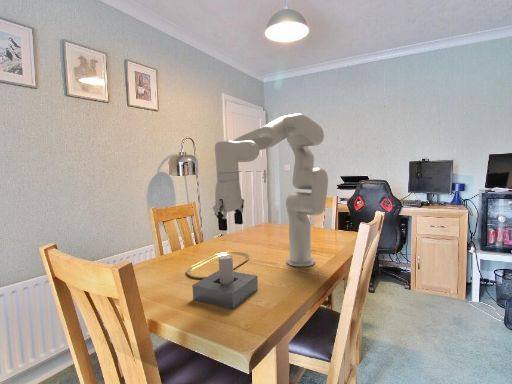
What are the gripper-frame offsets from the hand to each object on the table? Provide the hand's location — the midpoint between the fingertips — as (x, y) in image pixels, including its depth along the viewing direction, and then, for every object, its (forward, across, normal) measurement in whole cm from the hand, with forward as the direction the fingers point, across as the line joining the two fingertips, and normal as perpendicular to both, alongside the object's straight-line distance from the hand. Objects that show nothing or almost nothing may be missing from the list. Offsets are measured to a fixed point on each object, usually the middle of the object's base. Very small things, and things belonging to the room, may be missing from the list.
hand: (231, 227), depth 100 cm
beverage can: (+22, +3, -1) cm, 22 cm away
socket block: (+23, +4, -1) cm, 23 cm away
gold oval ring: (+24, -20, -21) cm, 38 cm away
